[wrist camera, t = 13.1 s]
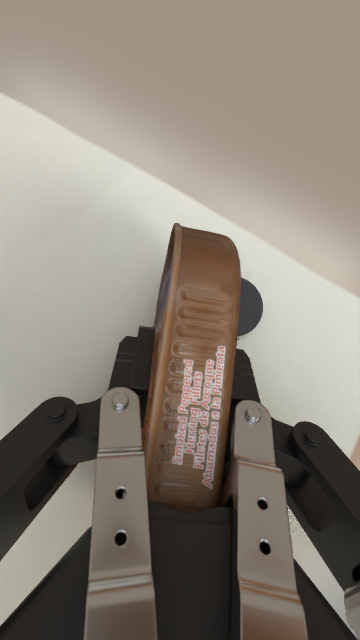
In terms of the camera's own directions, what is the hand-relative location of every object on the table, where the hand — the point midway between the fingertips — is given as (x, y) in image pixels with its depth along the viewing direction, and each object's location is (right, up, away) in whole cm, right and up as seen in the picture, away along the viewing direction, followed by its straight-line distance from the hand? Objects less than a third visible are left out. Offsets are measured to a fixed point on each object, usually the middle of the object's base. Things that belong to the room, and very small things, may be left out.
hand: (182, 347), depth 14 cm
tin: (-1, -3, +4) cm, 5 cm away
